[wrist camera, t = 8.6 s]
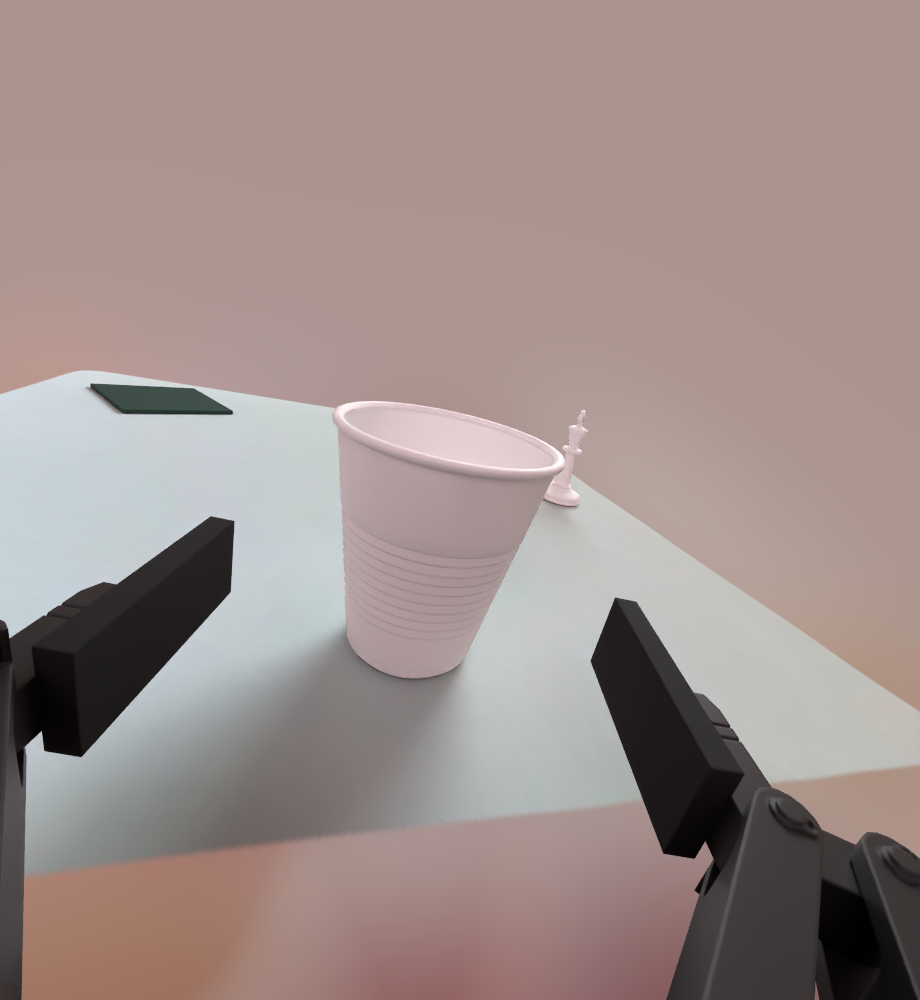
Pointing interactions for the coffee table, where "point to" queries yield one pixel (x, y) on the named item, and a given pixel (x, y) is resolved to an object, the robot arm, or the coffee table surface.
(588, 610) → the coffee table surface
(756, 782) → the robot arm
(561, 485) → the chess piece
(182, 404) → the mat
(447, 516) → the cup
